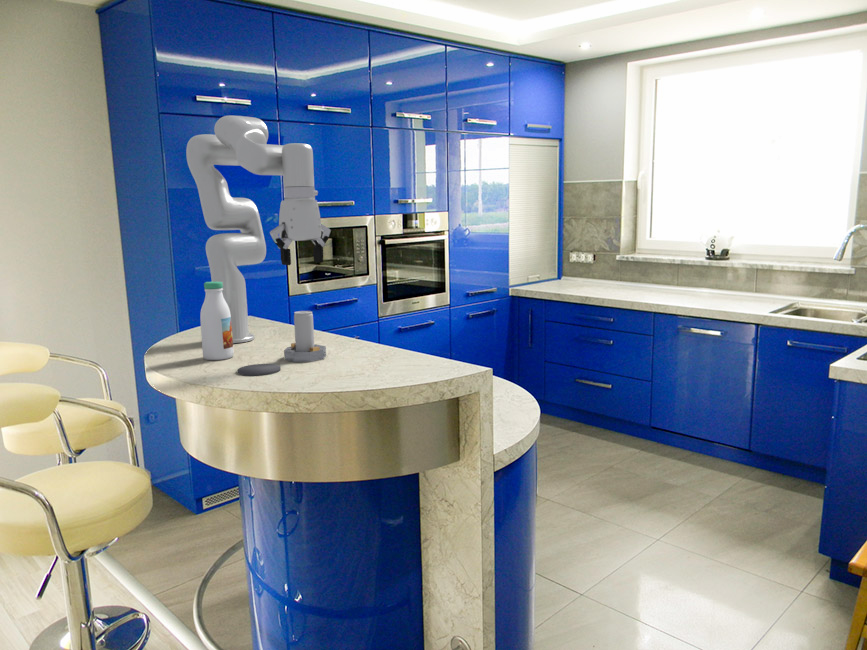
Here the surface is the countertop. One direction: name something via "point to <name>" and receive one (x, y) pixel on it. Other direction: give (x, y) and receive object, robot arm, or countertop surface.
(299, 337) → the beverage can
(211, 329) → the milk bottle
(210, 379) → the countertop surface
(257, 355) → the countertop surface
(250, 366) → the slate coaster
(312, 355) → the ring
